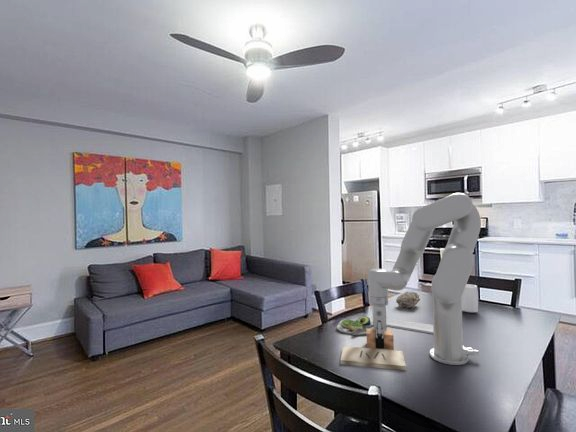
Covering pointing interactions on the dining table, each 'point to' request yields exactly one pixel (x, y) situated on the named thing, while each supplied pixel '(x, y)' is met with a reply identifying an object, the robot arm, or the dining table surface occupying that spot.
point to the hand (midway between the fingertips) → (379, 344)
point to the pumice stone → (408, 299)
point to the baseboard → (408, 325)
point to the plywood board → (373, 358)
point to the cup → (470, 298)
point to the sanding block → (372, 334)
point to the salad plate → (356, 326)
